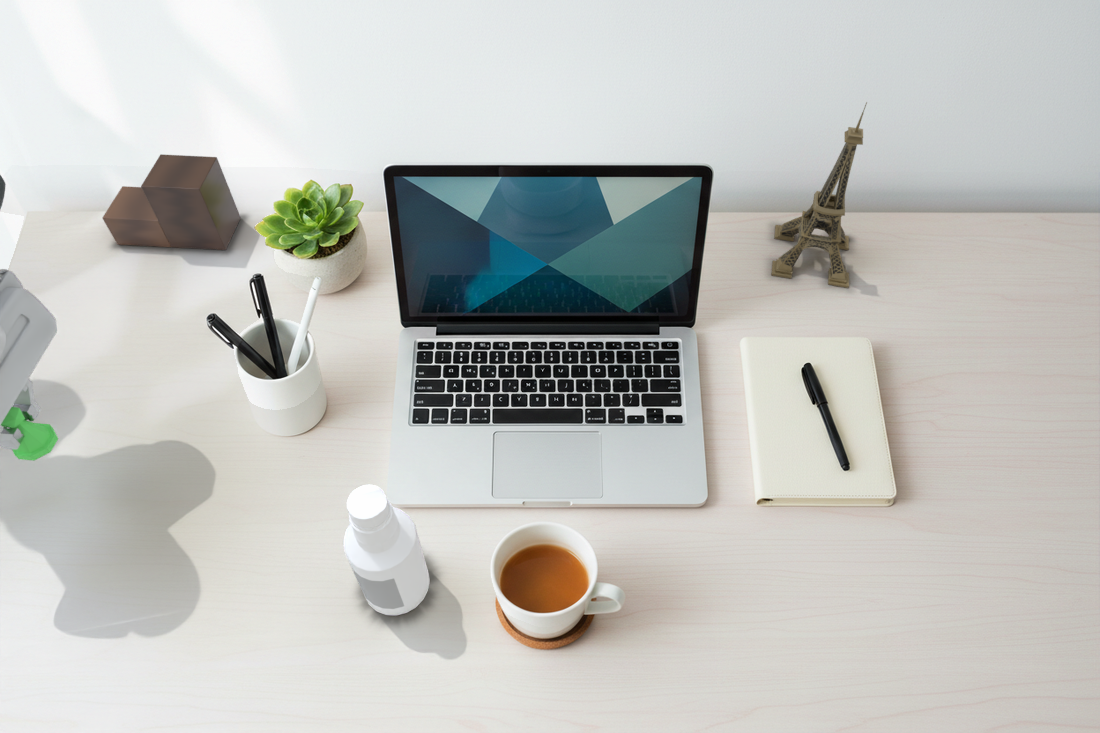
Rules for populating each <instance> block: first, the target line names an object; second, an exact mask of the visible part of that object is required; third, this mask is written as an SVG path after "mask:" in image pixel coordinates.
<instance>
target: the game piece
mask: <svg viewBox="0 0 1100 733" xmlns="http://www.w3.org/2000/svg"><path fill="white" fill-rule="evenodd" d="M24 419H25V417H24V415H23V414H22V412H21V410H20V408H17V407H11V409H10V410H9V412H8V414H7V415H6V417H5V419H4V420H3V422H2V424H1V426H2V427H7V428H8V429H9V428H18V429H19V430H20V431H21V434H24V439H23V440H22V442H21V444H20V446H19V448H18V449H16V450H15V449H11V450H12V453H13V455H14V456H15V458H17V459H18V460H22V461H34V462H35V461H36V460H38V459H40V458H42V457H44V456H47V454H51V452H52V451H53V449H54V448H55V445H56V444H57V443H58V440H59V437H58V435H57V433H56V431H55V429H54V427H53V426H52V425H51V424H49V423H38V422H34V421H29V420H24Z"/></svg>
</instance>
